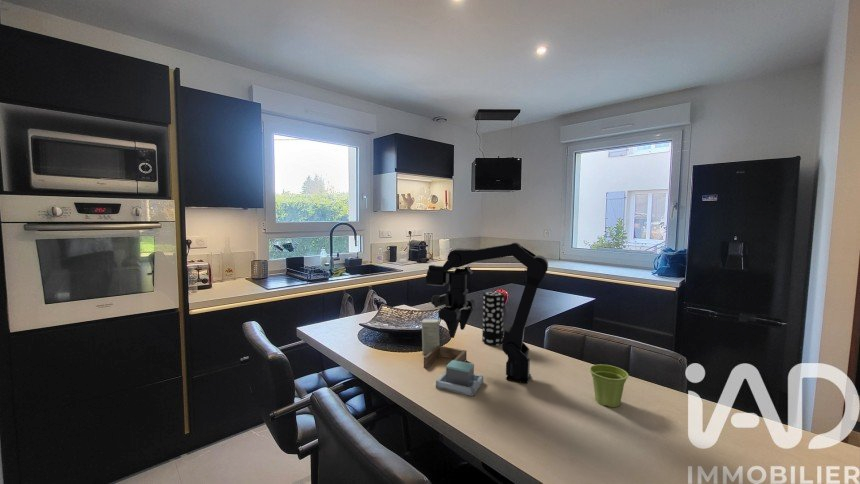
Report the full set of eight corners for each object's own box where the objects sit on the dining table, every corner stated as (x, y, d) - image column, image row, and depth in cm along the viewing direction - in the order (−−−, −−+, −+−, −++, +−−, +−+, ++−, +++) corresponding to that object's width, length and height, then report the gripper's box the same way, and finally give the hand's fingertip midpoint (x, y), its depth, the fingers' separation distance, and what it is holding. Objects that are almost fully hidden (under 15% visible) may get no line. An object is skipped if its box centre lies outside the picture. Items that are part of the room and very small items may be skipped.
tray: (483, 382, 108) (483, 375, 108) (473, 396, 99) (473, 389, 99) (448, 374, 113) (448, 368, 112) (435, 387, 104) (435, 381, 104)
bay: (466, 360, 124) (466, 350, 124) (453, 373, 114) (454, 363, 113) (438, 354, 129) (438, 345, 129) (423, 367, 118) (423, 357, 118)
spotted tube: (478, 339, 145) (479, 292, 144) (496, 337, 148) (497, 290, 147) (488, 346, 138) (488, 296, 136) (506, 344, 140) (507, 295, 139)
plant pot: (606, 413, 91) (607, 381, 90) (581, 395, 100) (582, 366, 99) (635, 408, 93) (636, 376, 92) (608, 391, 102) (609, 362, 102)
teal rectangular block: (473, 381, 107) (473, 363, 106) (468, 389, 102) (468, 370, 102) (452, 377, 110) (452, 359, 109) (446, 384, 105) (446, 365, 105)
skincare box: (439, 350, 133) (439, 319, 133) (438, 355, 129) (438, 322, 128) (422, 349, 134) (422, 318, 133) (421, 354, 130) (421, 321, 129)
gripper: (446, 280, 127) (445, 322, 128) (423, 290, 111) (423, 338, 112) (475, 283, 123) (475, 326, 124) (456, 293, 106) (455, 343, 107)
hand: (457, 333), depth 117 cm, fingers open, 9 cm apart
